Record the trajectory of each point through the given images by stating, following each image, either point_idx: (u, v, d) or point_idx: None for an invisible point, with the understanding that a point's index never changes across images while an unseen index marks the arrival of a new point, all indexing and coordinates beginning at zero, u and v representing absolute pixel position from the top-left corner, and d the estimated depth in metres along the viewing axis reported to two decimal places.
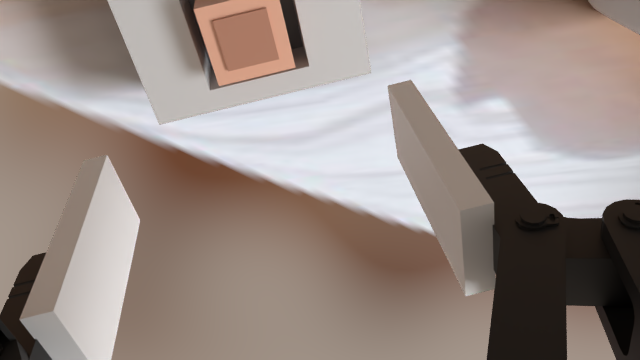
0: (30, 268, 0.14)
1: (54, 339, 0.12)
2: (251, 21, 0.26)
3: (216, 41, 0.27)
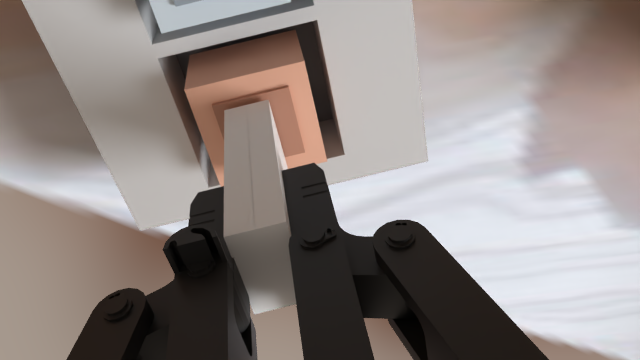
0: (200, 202, 0.15)
1: (249, 258, 0.13)
2: None
3: (217, 131, 0.19)
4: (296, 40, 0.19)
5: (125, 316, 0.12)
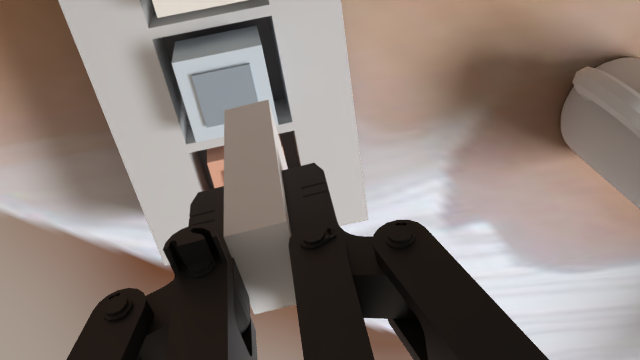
0: (200, 202, 0.15)
1: (249, 257, 0.13)
2: None
3: None
4: None
5: (125, 316, 0.12)
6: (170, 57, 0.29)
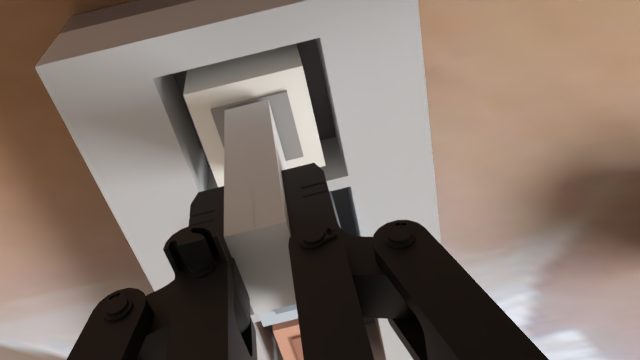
0: (200, 202, 0.15)
1: (249, 257, 0.13)
2: None
3: (293, 351, 0.26)
4: None
5: (125, 316, 0.12)
6: None
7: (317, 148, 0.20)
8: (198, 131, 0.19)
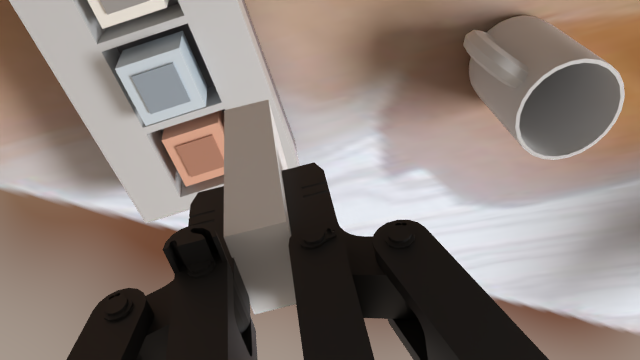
0: (200, 202, 0.15)
1: (249, 257, 0.13)
2: (203, 144, 0.37)
3: (180, 158, 0.38)
4: None
5: (125, 316, 0.12)
6: None
7: None
8: None
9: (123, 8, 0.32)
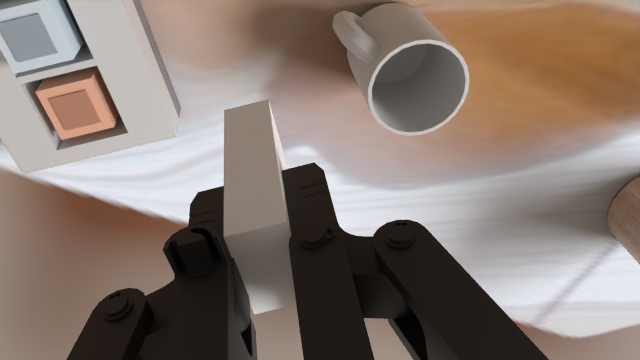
0: (200, 202, 0.15)
1: (249, 258, 0.13)
2: (76, 99, 0.39)
3: (54, 111, 0.40)
4: (95, 67, 0.40)
5: (125, 316, 0.12)
6: None
7: None
8: None
9: None
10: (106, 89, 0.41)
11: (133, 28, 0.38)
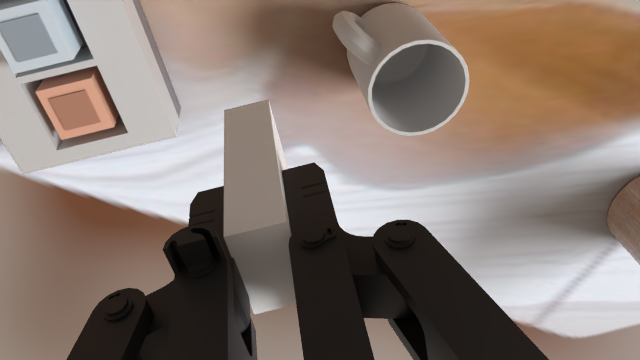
0: (200, 202, 0.15)
1: (249, 258, 0.13)
2: (76, 99, 0.39)
3: (54, 111, 0.40)
4: (95, 67, 0.40)
5: (125, 316, 0.12)
6: None
7: None
8: None
9: None
10: (106, 89, 0.41)
11: (133, 28, 0.38)
